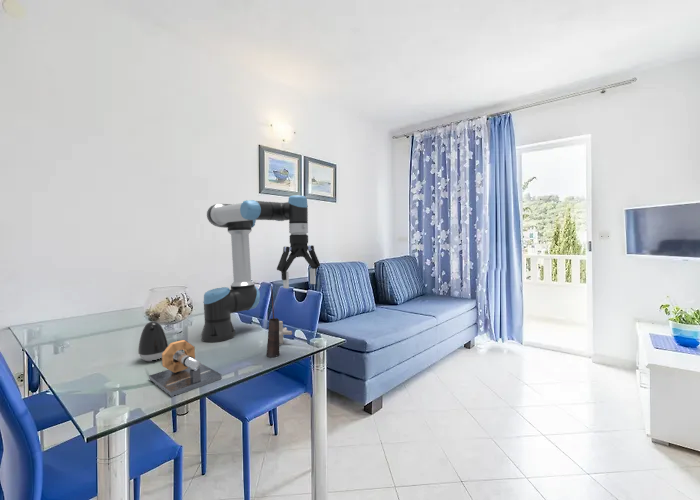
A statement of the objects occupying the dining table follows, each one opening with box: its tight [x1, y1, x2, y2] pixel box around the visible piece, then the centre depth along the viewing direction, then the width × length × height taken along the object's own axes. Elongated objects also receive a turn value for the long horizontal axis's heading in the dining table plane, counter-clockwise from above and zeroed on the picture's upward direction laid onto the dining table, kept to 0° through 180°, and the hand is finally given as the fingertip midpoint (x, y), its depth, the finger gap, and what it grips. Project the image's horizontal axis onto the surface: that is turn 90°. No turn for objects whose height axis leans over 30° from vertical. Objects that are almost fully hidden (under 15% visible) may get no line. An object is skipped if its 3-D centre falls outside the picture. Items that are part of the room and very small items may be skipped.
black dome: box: [137, 320, 169, 362], centre depth 128 cm, size 10×10×15 cm
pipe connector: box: [279, 320, 293, 345], centre depth 144 cm, size 10×10×10 cm
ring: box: [161, 339, 196, 373], centre depth 112 cm, size 2×10×10 cm, turn 139°
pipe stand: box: [148, 350, 222, 398], centre depth 109 cm, size 19×16×9 cm
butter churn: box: [266, 285, 281, 358], centre depth 129 cm, size 9×10×28 cm
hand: (300, 286), depth 132 cm, fingers open, 13 cm apart
